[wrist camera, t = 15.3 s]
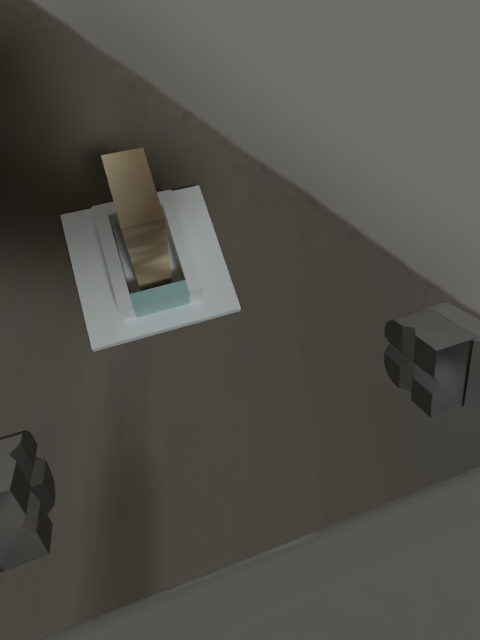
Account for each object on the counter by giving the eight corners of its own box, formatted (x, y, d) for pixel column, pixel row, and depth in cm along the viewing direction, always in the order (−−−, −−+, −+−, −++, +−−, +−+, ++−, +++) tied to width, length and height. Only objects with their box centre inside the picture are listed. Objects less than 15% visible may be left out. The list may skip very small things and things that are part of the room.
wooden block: (141, 293, 40) (121, 228, 29) (126, 237, 42) (100, 155, 30) (172, 285, 41) (164, 218, 29) (156, 230, 42) (142, 147, 31)
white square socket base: (93, 351, 39) (83, 340, 35) (62, 219, 42) (50, 197, 39) (240, 311, 41) (244, 297, 38) (198, 189, 45) (199, 166, 41)
